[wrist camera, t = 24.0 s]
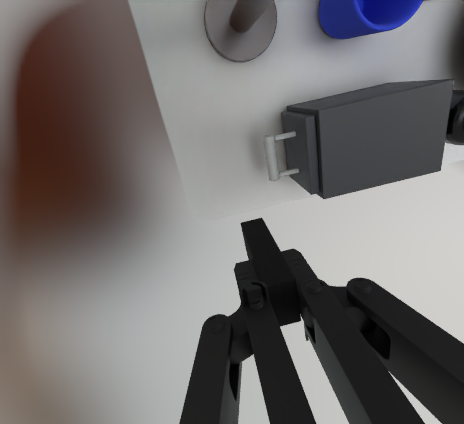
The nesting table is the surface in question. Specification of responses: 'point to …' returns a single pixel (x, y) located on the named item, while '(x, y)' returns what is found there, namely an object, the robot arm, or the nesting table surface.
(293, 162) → the drawer
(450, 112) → the supplement bottle
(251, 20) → the paper towel holder
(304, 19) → the nesting table surface
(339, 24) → the mug
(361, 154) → the cabinet
